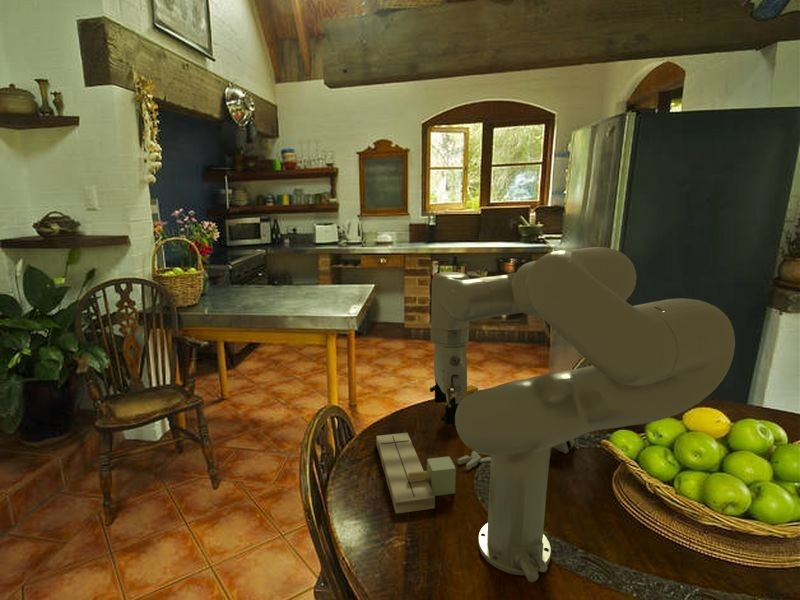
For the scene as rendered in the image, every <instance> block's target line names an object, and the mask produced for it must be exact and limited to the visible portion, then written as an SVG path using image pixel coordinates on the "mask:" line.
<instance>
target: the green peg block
mask: <svg viewBox="0 0 800 600" xmlns="http://www.w3.org/2000/svg"><path fill="white" fill-rule="evenodd" d="M456 469H457V468H456V466H455V464H454V462H453V460H452V459H451V457H450V456H443V457H432V458H427V459H426V470H424V471H421V472H413V473H408V478H409V481H414V480H422V479H427V480H428V482H429V485H430V487H431V489H432V492H433V494H434V496H435V497H436V496H446V495H452V494H456V478H457V477H456V475H457V471H456Z"/></svg>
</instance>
